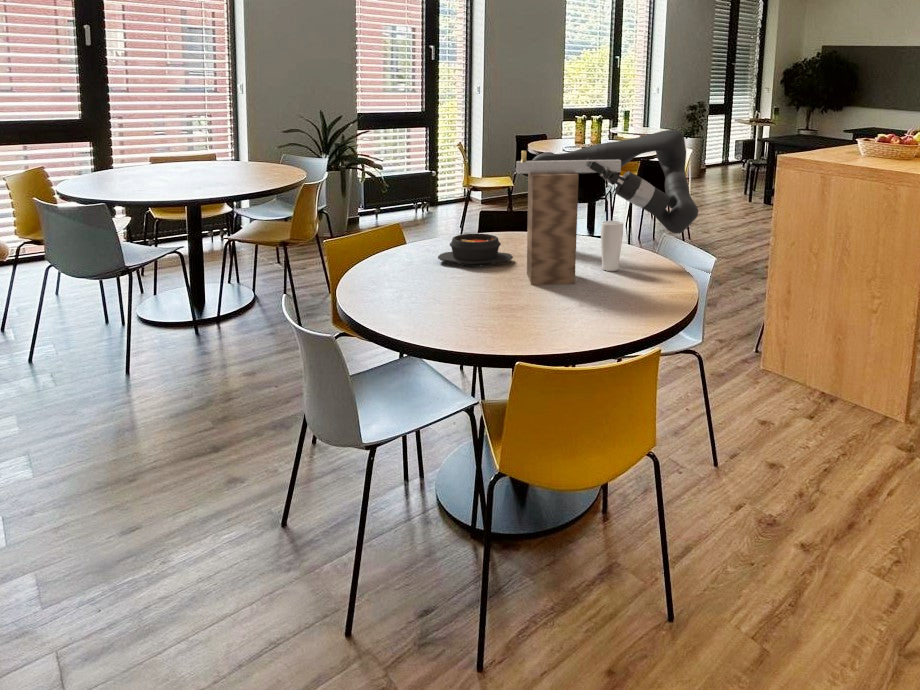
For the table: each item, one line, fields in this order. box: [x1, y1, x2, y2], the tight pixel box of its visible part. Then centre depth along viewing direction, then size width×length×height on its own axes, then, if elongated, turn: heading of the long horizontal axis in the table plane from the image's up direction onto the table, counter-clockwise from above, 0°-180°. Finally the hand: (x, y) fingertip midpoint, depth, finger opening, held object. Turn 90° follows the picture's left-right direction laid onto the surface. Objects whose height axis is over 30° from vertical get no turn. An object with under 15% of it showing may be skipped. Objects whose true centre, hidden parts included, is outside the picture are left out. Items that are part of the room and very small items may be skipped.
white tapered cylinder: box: [600, 220, 624, 272], centre depth 250 cm, size 7×7×15 cm
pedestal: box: [526, 173, 580, 286], centre depth 237 cm, size 13×13×32 cm
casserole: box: [437, 232, 514, 267], centre depth 263 cm, size 25×19×8 cm
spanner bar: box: [515, 150, 622, 175], centre depth 231 cm, size 30×3×6 cm, turn 91°
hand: (588, 162), depth 231 cm, fingers open, 8 cm apart
